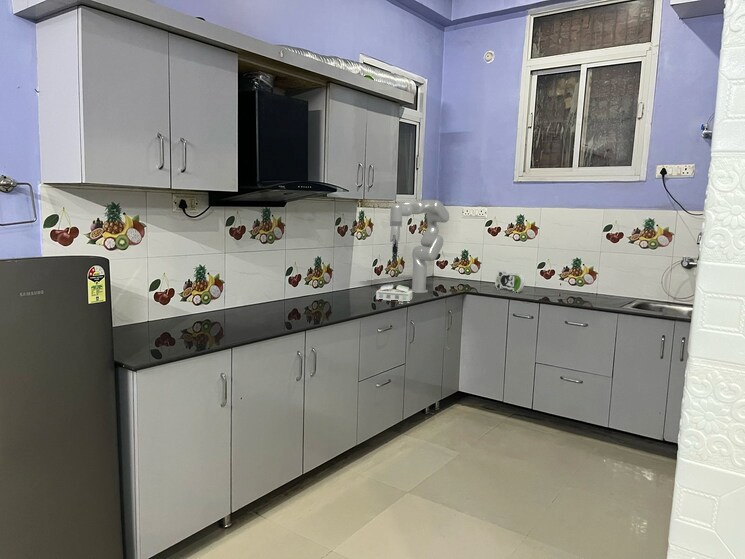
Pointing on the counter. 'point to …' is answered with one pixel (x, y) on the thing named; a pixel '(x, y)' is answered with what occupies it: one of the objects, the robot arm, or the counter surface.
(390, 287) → the slate rocker
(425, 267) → the robot arm
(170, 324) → the counter surface
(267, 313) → the counter surface
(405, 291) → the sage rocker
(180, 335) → the counter surface
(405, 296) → the switch box
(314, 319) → the counter surface
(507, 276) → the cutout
